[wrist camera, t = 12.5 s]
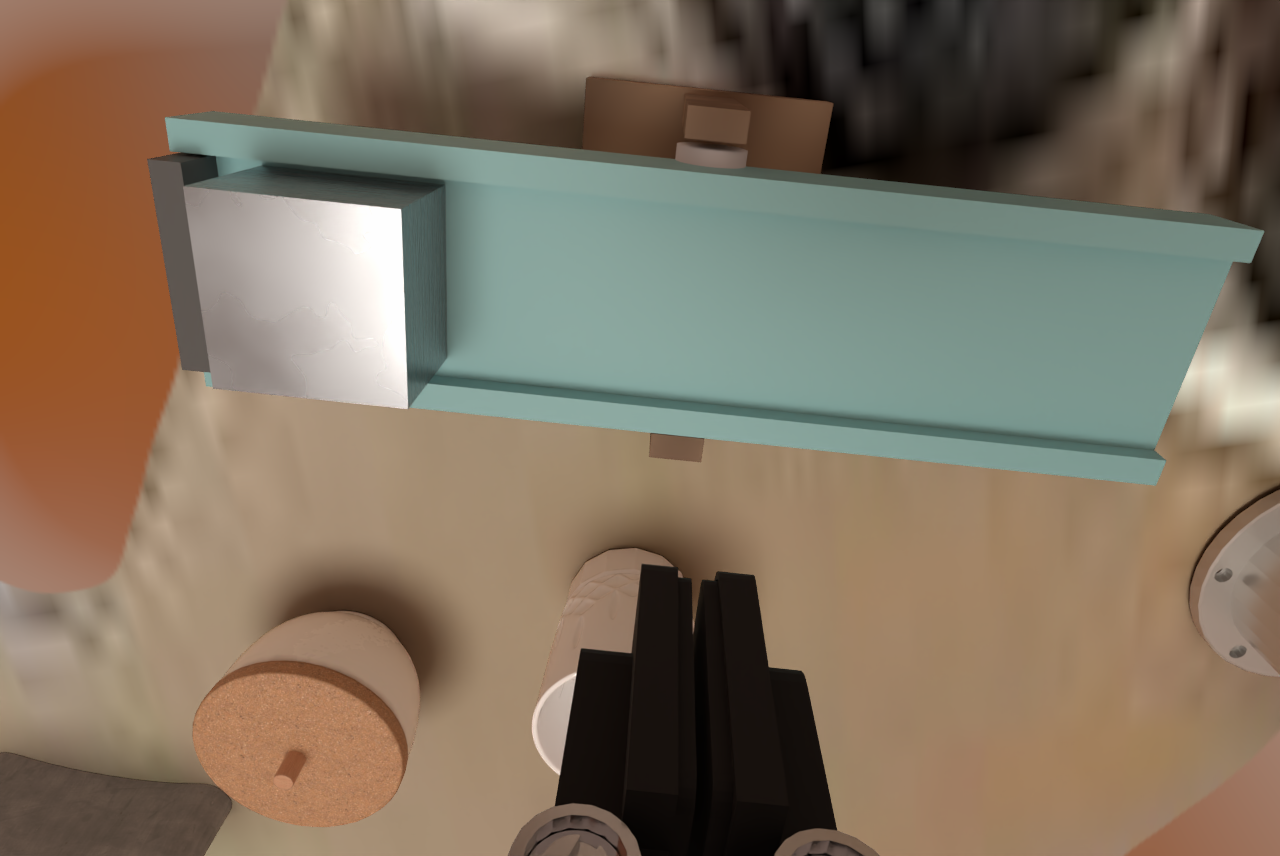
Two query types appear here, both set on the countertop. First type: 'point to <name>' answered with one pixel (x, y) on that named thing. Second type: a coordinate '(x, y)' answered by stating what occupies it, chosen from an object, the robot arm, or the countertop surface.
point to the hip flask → (102, 813)
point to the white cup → (587, 637)
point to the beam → (770, 297)
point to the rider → (321, 283)
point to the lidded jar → (313, 720)
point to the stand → (687, 114)
